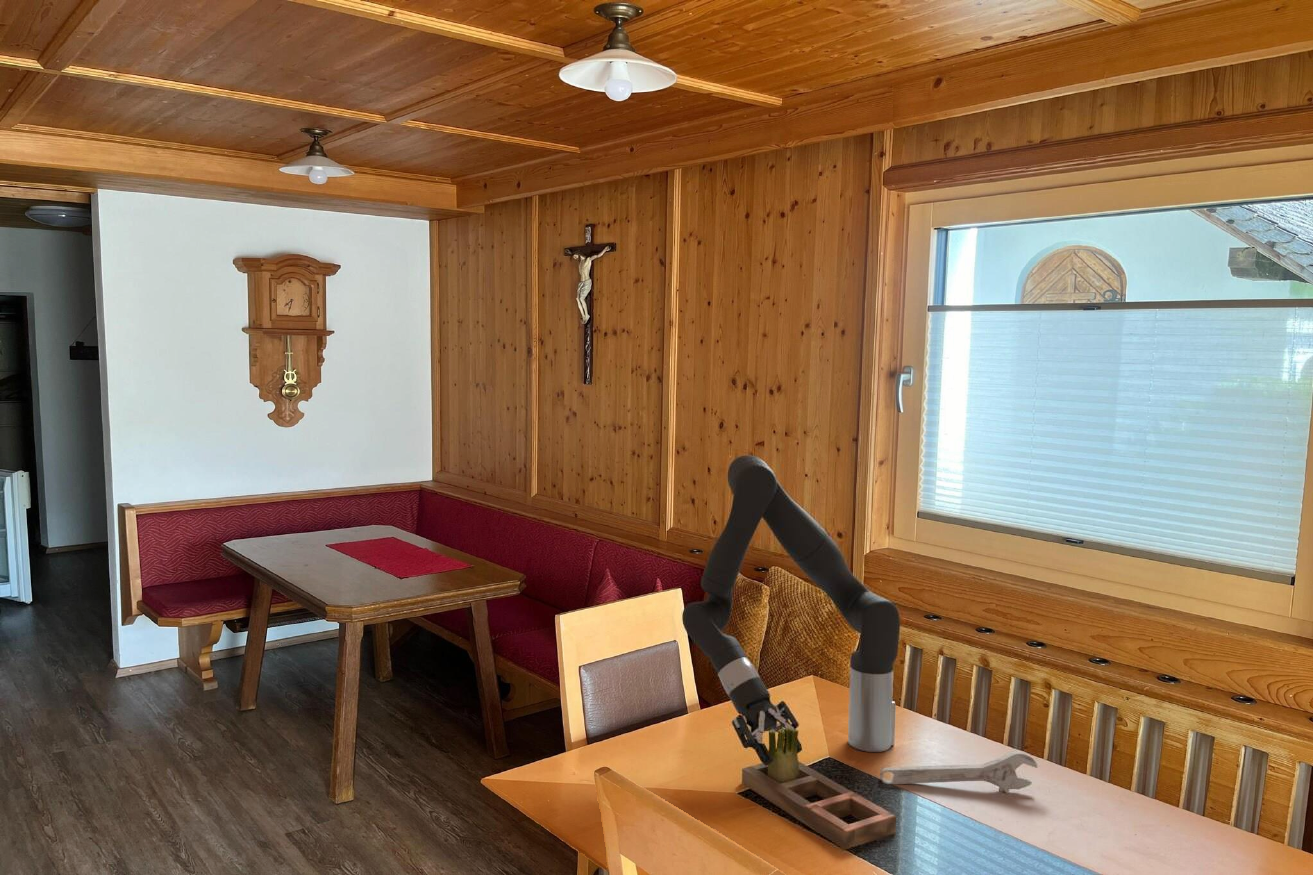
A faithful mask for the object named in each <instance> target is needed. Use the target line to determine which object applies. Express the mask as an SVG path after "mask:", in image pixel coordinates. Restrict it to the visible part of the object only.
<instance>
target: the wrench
mask: <svg viewBox="0 0 1313 875" xmlns="http://www.w3.org/2000/svg"><path fill="white" fill-rule="evenodd" d="M1022 765H1027V766H1031V767H1032V768H1038V763H1037V762H1036V760H1035V758H1034V757H1033V756H1032V755H1031V754H1030V753H1028V752H1025V751H1023V750H1014V751H1010V752H1008V753H1007V754H1005V755H1002V756H1000V757H998V758H996V759H993V760H990V761H988V762H984V763H981V764H955V765H954V764H953V765H952V764H951V765H948V764H947V765H915V766H913V765H912V766H910V765H909V766H885V767H883V768H882V769H881V770H880V774H879V776H880V779H881V782H882V783H883V784H889V785H904V784H905V785H907V784H910V785H911V784H930V783H931V784H932V783H955V782H957V783H958V782H986V783H989V784H993V785H994V786H997V787H998V791H999V792H1001V793H1002V792H1003V793H1006V794H1009V792H1010V790H1020V789H1023V788H1026V787H1030V786H1031V785H1032V783H1033V781H1032V780H1031V779H1029V778H1028V777H1026V776H1021V775H1018V774H1017V772H1016V770H1017V769H1018V768H1019V767H1020V766H1022ZM886 772H887V773H891V774H893V777H892V778H890V779H886V778H884V774H885V773H886Z"/></svg>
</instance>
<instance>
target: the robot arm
mask: <svg viewBox="0 0 1313 875" xmlns="http://www.w3.org/2000/svg"><path fill="white" fill-rule="evenodd" d="M727 482H728V486H729V489H730V490H731V491H732V493H733V499H732V503H731V509H730V514H729V515H728V519H727V522H726V525H725V527H724V528H723V531H722V532H721V534H720V535H719V536H718V538H717V540H716V542H715V543H714V545H713V547H712V549H711V550H710V553H709V556H708V558H707V561H706V565H705V568H704V569H703V570H704V571H703V573H702V577H701V580H700V585H701V588H702V589H703V591H704V592H706V593H707V598H706V600H703V601H702V600H701V601H694V602H691V603H688V604H687V605H686V606H685V607H684V608H683V611H682V616H681V617H682V625H683V628H684V630H685V631H686V633H687V635H688V636H689V637H690V638H691V640H692V641H693V642H694V643H695V644H696V646H697V647H698V648H700V650H701V651H702V652H703V653H704V654H705V655H706V656H707V657H708V658H709V660H710V662H711V664H712V667H713V668H714V670H715V672H716V674H717V675H718V677H719V680H720V682H721V684H722V687H723V688H724V690H725V692H726V694H727V696H728V698H729V699H730V702H731V703H732V705H733V707H734V708H735V710H736V712H737V714H738V715H737V716H736V717H735V718H733V720H732V721H731V724H732V726H733V729H734V730H735V733H736V735H737V737H738V739H739V741H740V743H741V745H742V747H743V748H745V749H748V748H751V749H753V750H754V751H755V753H756V755H757V756H758V759H759V760H760V762H761V763H764V765H769V764H770V763H771V762H772V761H773V758H772V756H771V754H770V753H769V748H767V745H766V744H765V742H763V737H764V736H763V735H764V733H765V732H769V731H770V730H774V731H775V733H778V731H779V730H780V729H783V730H784V732H785V727H787V728H790V735H791V729H796V730H797V728H798V727H799V726H800V724H799V722H798V720H797V719H796V717H795V716H794V714H793V713H792V711H791V710H790V708H789V706H788V705H787V704H786V702H785V701H784V700H781V701H780V702H778V703H777V704H776V705H774V704H773V703H772V701H771V694H770V692H769V690H768V689H767V687H766V685H765V683H764V682H763V680H762V678H761V677H760V675H759V673H758V671H757V669H756V668H755V666H754V665H753V664H752V662H751V661H750V659H749V658H748V656H747V654H746V653H745V651H744V649H743V648H742V645H741V644H740V643H739V641H738V639H737V638H736V637H735V636H731V635H728V634H726V633H723V632H722V631H723V630H724V629H725V628H726V627H727V626H728V624H729V622H730V619H731V614H732V607H733V605H732V604H733V590H734V587H735V585H736V582H737V579H738V576H739V574H740V569H742V568H741V567H742V564H743V562H744V558H745V556H746V554H747V549H748V547H749V546H750V543H751V541H752V539H753V536H754V534H755V532H756V530H757V527H758V526H759V523H760V522H761V520H762V519H763V520H764V522H765V523H766V524H767V526H768V528H769V529H770V530H771V532H772V534H773V536H774V537H775V538H776V539H777V541H778V543H779V544H780V545H781V547H782V548H783V550H784V551H785V552H786V553H787V554H788V556H789V557H790V558H791V560H792V561H794V563H795V565H797V566H798V568H800V569H801V571H803V573H804V574H806V576H807V577H808V578H809V579H810V580H811V581H812V582H814V584H815V585H817V587H818V588H820V589H821V590H822V591H823V592H824V593H825V594H826V595H827V596H828V597H829V599H830V600H831V601H832V602H833V604H834V605H835V607H836V609H838V611H839V612H840V614H841V615H842V618H844V620H845V621H846V622H847V624H848V625H849V626H850V627H851V628H852V629H853V630H854V631H855V632H857V633H859V635H860V640H859V641H860V643H859V649H858V650H855V651H853V652H852V653H851V654H850V661H849V662H850V664H849V695H848V696H849V700H848V701H849V702H848V735H847V736H848V737H847V738H848V740H847V742H848V745H849V746H850V747H852V748H854V749H857V750H859V751H864V752H869V753H881V752H885V751H888V750H889V749H890V748H891V746H893V745H895V737H896V736H895V732H896V729H895V728H896V727H895V726H896V706H897V704H896V703H895V701H893V691H894V689H893V687H894V664H895V662H896V659H897V657H898V652H899V642H900V632H901V631H900V630H901V618H900V612H899V610H898V607H897V606H896V605H895V604H894V602H892V601H890V600H888V599H887V598H884V597H883V596H880V595H878V594H876V593H874V592H873V591H871V590H869V589H868V588H867V587H866V586H865V585H864V584H863V583H862V582H861V581H860V580H859V579H858V578H857V577H856V576H855V575H854V574H853V573H852V571H851V570H850V569H849V566H848V564H847V562H846V560H845V557H844V554H843V553H842V551H841V549H840V547H839V546H838V544H837V542H835V541H834V539H832V537H831V536H830V535H829V533H828V532H827V531H825V529H824V528H823V527H822V526H821V525H820V524H819V523H818V522H817V520H815V519H814V518H813V516H811V515H810V514H809V513H807V511H806V510H805V509H803V508H802V507H801V506H800V505H799V504H798V503H797V502H795V501H794V500H793V499H792V497H790V496H789V494H788V493H787V492H786V491H785V489H784V488H783V486H782V485H780V483H779V481H778V480H777V477H776V475H775V473H774V471H773V470H772V469H771V467H770V466H769V465H768V463H766V462H765V461H764V460H763V459H761V458H760V457H757V456H754V455H741V456H739V457H736V458H735V459H734V460H732V462H731V463H730V464H729V467H728V470H727ZM802 750H803V747H802V743H801V742H800V740H799V737H798V738H797V755H798V754H799V753H800V752H802Z"/></svg>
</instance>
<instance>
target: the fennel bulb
mask: <svg viewBox="0 0 1313 875" xmlns="http://www.w3.org/2000/svg"><path fill="white" fill-rule="evenodd" d="M783 729H785V732H784V730H783ZM783 729H780V730H779V731H778V732H777V737H776V732H775V731H774V730H770V731H768V751H769V753H770V754H771V756H772V758H773V761H772V762H771V763H770V764H769V765H768V777H770V778H771V779H773V780H775V781H776V782H778V783H780V784H782V783H785V782H789V781H793V780H796V779H798V778H799V763H798V761H799V755H798V754H797V738H798V739H799V730H798V729H797V728H796V729H791V735H790V728H787V727H785V728H783ZM776 738H777V739H776Z"/></svg>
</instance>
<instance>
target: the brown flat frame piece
mask: <svg viewBox="0 0 1313 875" xmlns="http://www.w3.org/2000/svg"><path fill="white" fill-rule="evenodd" d="M798 763H799V778H798V779H796V780H793V781H789V782H785V783H782V784H780V783H778V782H776V781H775V780H773V779H771V778H770V777H768V765H764V763H762V762H761V763H758V764H754V765H750V766H746V767H742V769H741V771H742V772H741V783H742V784H743V785H744V786H746V787H747V788H749V789H750V790H752V791H753V792H755V793H757V794H758V795H760V796H761V797H762V798H764V799H766V800H767V801H769V802H770V803H772V804H773V805H775V806H777V807H778V808H780V809H781V810H783V811H784V812H786V813H787V814H789V815H790V816H791V817H793V818H795V819H796V820H798V821H800V822H801V823H803V824H804V825H806V826H807V827H809V828H810V829H812V830H813V831H815V832H816V833H818V834H819V833H820V835H821V836H822V835H823V837H824V838H825V837H826V838H825V839H827V838H828V839H829V840H828V839H827V840H828V841H830V840H831V841H832V842H831V841H830V842H831V843H833V842H834V843H835V845H836V844H837V845H836V846H838V847H839V846H840V847H839V848H841V847H842V848H843V849H842V848H841V849H842V850H844V849H847V850H850V849H852V848H851V847H853V848H855V846H856V847H858V845H859V846H862V845H865V844H867V843H870V842H873V841H876V840H880V839H883V838H886V837H889V836H892V835H895V834H896V833H897V832H896V831H897V830H896V828H897V816H896V815H895V814H893V813H892V812H890V811H887V810H886V809H885V808H883V807H881V806H879V805H878V804H876V803H873V802H872V801H871V800H869V799H866V798H865V797H863V796H862V795H860V794H858V793H856V792H854V791H851V790H850V789H848V788H846V787H844V786H843V785H841V784H839V783H838V782H835V781H834V780H832V779H831V778H828V777H827V776H825V775H823V774H822V773H820V772H818V771H816V770H815V769H813V768H812V767H809V766H808V765H806V764H805V763H802V762H801V761H799V760H798ZM812 796H818V797H821V798H822V800H819V801H815V802H810V801H809V800H807V799H806V798H809V797H812ZM848 816H852V817H853V818H856V820H858V821H855V822H853V823H847V822H845V821H844V820H843V819H841V818H844V817H848ZM834 843H833V844H834ZM849 848H850V849H849Z"/></svg>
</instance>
